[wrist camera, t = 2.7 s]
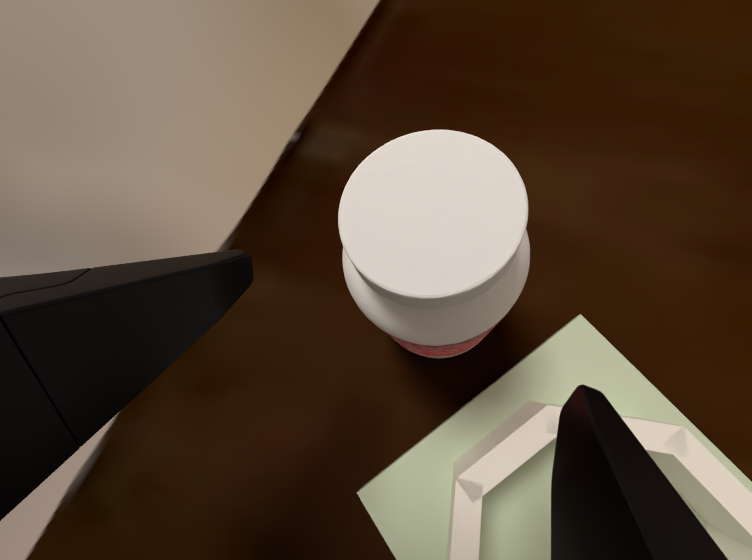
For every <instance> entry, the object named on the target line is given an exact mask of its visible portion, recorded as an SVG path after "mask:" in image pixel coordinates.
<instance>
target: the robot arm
mask: <svg viewBox="0 0 752 560" xmlns="http://www.w3.org/2000/svg"><path fill="white" fill-rule="evenodd" d="M252 281H253V266H252V257H251V255H250V254H248V253H246V252H243V251H241V250H229V251H221V252H213V253H206V254H198V255H190V256H182V257H174V258H166V259H158V260H150V261H142V262H135V263H126V264H119V265H110V266H102V267H94V268H92V269H91V268H87V269H78V270H70V271H61V272H52V273H43V274H33V275H22V276H11V277H0V521H1V519H3V518H4V517H5V516H6V515H7V514H8V513H9V512H10V511H11V510H13V509H14V508H15V507H16V506H17V505H18V504H19V503H20V502H21V501H22V500H23V499H25V498H26V497H27V496H28V495H29V494H30V493H31V492H32V491H33V490H34V489H36V488H37V487H38V486H39V485H40V484H41V483H42V482H43V481H44V480H45V479H46V478H48V476H50V475H51V474H52V473H53V472H54V471H55V470H56V469H57V468H59V466H61V465H62V464H63V463H64V462H65V461H66V460H67V459H68V458H69V457H70V456H72V455H73V454H74V453H75V452H76V451H77V450H78V449H79V448H80V446H82V445H83V444H84V443H85V442H86V441H88V440H89V439H90V438H91V437H92V436H93V435H94V434H95V433H96V432H98V431H99V430H100V429H101V428H102V427H103V426H104V425H105V424H106V423H107V422H108V421H110V420H111V419H112V418H113V417H114V416H115V415H116V414H117V413H118V412H119V411H121V410H122V409H123V408H124V407H125V406H126V405H127V404H128V403H129V402H130V401H131V400H133V399H134V398H135V397H136V396H137V395H138V394H139V393H140V392H141V391H142V390H144V389H145V388H146V387H147V386H148V385H149V384H150V383H151V382H152V381H153V380H154V379H156V378H157V377H158V376H159V375H160V374H161V373H162V372H163V371H164V370H165V369H166V368H168V367H169V366H170V365H171V364H172V363H173V362H174V361H175V360H176V359H177V358H179V357H180V356H181V355H182V354H183V353H184V352H185V351H186V350H187V349H188V348H189V347H191V346H192V345H193V344H194V343H195V342H196V341H197V340H198V339H199V338H200V337H202V336H203V335H204V334H205V333H206V332H207V331H208V330H209V329H210V328H211V327H212V326H213V325H215V324H216V323H217V322H218V321H219V320H220V319H221V317H222V316H223V315H224V314H225V313H226V312H227V311H228V310H229V309H230V308H231V306H232V305H233V304H234V303H235V302H236V301H237V300H238V299H239V298H240V296H241V295H242V294H243V293H244V292H245V291H246V290H247V289H248V288H249V286H250V285H251V284H252ZM551 560H728V559H727V557H726V556H725V555H724V553H723V552H722V551H721V549H720V548H719V547H718V545H717V544H716V543H715V541H714V540H713V539H712V537H711V536H710V535H709V533H708V532H707V531H706V529H705V528H704V527H703V525H702V524H701V523H700V521H699V520H698V519H697V517H696V516H695V515H694V513H693V512H692V511H691V509H690V508H689V507H688V505H687V504H686V503H685V501H684V500H683V499H682V497H681V496H680V495H679V493H678V492H677V491H676V489H675V488H674V487H673V486H672V484H671V483H670V482H669V480H668V479H667V478H666V476H665V475H664V474H663V472H662V471H661V470H660V468H659V467H658V466H657V464H656V463H655V462H654V460H653V459H652V458H651V456H650V455H649V454H648V452H647V451H646V450H645V448H644V447H643V446H642V444H641V443H640V442H639V440H638V439H637V438H636V436H635V435H634V434H633V432H632V431H631V430H630V428H629V427H628V426H627V424H626V423H625V422H624V420H623V419H622V418H621V416H620V415H619V414H618V413H617V411H616V410H615V409H614V407H613V406H612V405H611V403H610V402H609V401H608V399H607V398H606V397H605V395H604V394H603V393H602V392H601V391H599V390H597V389H594V388H592V387H589V386H586V385H583V384H582V385H579V386H577V387H576V389H575V390H574V392H573V393H572V394H571V396H570V397H569V399H568V400H567V401H566V403H565V404H564V406H563V407H562V409H561V412H560V416H559V423H558V431H557V438H556V446H555V454H554V461H553V469H552V478H551Z"/></svg>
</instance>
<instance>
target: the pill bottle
mask: <svg viewBox="0 0 752 560" xmlns="http://www.w3.org/2000/svg"><path fill="white" fill-rule="evenodd" d="M527 221H528V198H527V194H526V189H525V186H524V183H523V181H522V179H521V177H520V175H519V173H518V171H517V169H516V168H515V166H514V165H513V164H512V162H511V161H510V160H509V159H508V158H507V157H506V156H505V155H504V154H503V153H502V152H501V151H500V150H498V149H497V148H496V147H495V146H493V145H492V144H490V143H488V142H486V141H485V140H482V139H480V138H478V137H476V136H473V135H470V134H466V133H463V132H457V131H451V130H428V131H421V132H415V133H411V134H408V135H404V136H401V137H399V138H397V139H394V140H392V141H390V142H388V143H386V144H385V145H383V146H381V147H380V148H378V149H377V150H375V151H374V152H373V153H371V154H370V155H369V156H368V157H367V158H366V159H365V160H364V161H363V162H362V163H361V164H360V165H359V166H358V167H357V169H356V170H355V171H354V173H353V174H352V175H351V177H350V179H349V181H348V183H347V184H346V186H345V188H344V191H343V194H342V197H341V201H340V206H339V213H338V225H339V232H340V237H341V241H342V244H343V258H342V260H343V270H344V275H345V280H346V283H347V286H348V289H349V291H350V293H351V295H352V297H353V299H354V300H355V302H356V303H357V305H358V307H359V308H360V309H361V311H362V312H363V313H364V315H365V316H366V317H367V318H368V319H369V320H371V321H372V322H373V323H374V324H375V325H377V326H378V327H379V328H380V329H382V330H383V331H384V332H386V333H387V334H388V335H390V336H391V337H392V338H393V339H394V340H395V341H397V342H398V343H399V344H400V345H401V346H403V347H404V348H405V349H407V350H409V351H411V352H413V353H415V354H418V355H421V356H425V357H430V358H448V357H453V356H456V355H460V354H462V353H464V352H466V351H468V350H470V349H471V348H473V347H474V346H476V345H477V344H478V343H479V342H480V341H481V340H482V339H483V338H484V337H485V336H486V335H487V334H488V333H489V332H490V331H491V330H492V329H493V328H494V327H495V326H496V325H497V324H498V323H499V321H501V320H502V318H503V317H504V316H505V315H506V314H507V313H508V312H509V310H510V309H511V307H512V306H513V305H514V303H515V302H516V300H517V299H518V297H519V295H520V293H521V291H522V289H523V287H524V284H525V282H526V278H527V274H528V270H529V263H530V246H529V239H528V235H527V231H526V226H527Z"/></svg>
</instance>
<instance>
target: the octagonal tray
mask: <svg viewBox="0 0 752 560" xmlns="http://www.w3.org/2000/svg"><path fill="white" fill-rule="evenodd" d="M582 384H583V385H586V386H589V387H592V388H594V389H597V390H599V391H601V392H602V393H603V394H604V395H605V397H606V398H607V399H608V401H609V402H610V403H611V405H612V406H613V407H614V409H615V410H616V411H617V413H618V414H619V415H620V416H621V418H622V419H623V420H624V422H625V423H626V424H627V426H628V427H629V428H630V430H631V431H632V432H633V434H634V435H635V436H636V438H637V439H638V440H639V442H640V443H641V444H642V446H643V447H644V448H645V450H646V451H647V452H648V454H649V455H650V456H651V458H652V459H653V460H654V462H655V463H656V464H657V466H658V467H659V468H660V470H661V471H662V472H663V474H664V475H665V476H666V478H667V479H668V480H669V482H670V483H671V484H672V486H673V487H674V488H675V489H676V491H677V492H678V493H679V495H680V496H681V497H682V499H683V500H684V501H685V503H686V504H687V505H688V507H689V508H690V509H691V511H692V512H693V513H694V515H695V516H696V517H697V519H698V520H699V521H700V523H701V524H702V525H703V527H704V528H705V529H706V531H707V532H708V533H709V535H710V536H711V537H712V539H713V540H714V541H715V543H716V544H717V545H718V547H719V548H720V549H721V551H722V552H723V553H724V555H725V556H726V557H727V559H728V560H752V482H751V481H750V480H749V479H748V478H747V477H746V476H745V475H744V474H743V473H742V472H741V471H740V470H739V469H738V468H737V467H736V466H735V465H734V464H733V463H732V462H731V461H730V460H729V459H728V458H727V457H726V456H725V455H724V454H723V453H722V452H721V451H720V450H719V449H718V448H716V447H715V446H714V445H713V444H712V443H711V442H710V441H709V440H708V439H707V438H706V437H705V436H704V435H703V434H702V433H701V432H700V431H699V430H698V429H697V428H696V427H695V426H694V425H693V424H692V423H691V422H690V421H689V420H688V419H687V418H686V417H685V416H684V415H683V414H682V413H681V412H680V411H679V410H678V409H677V408H676V407H675V406H674V405H673V404H672V403H671V402H670V401H668V400H667V399H666V398H665V397H664V396H663V395H662V394H661V393H660V392H659V391H658V390H657V389H656V388H655V387H654V386H653V385H652V384H651V383H650V382H649V381H648V380H647V379H646V378H645V377H644V376H643V375H642V374H641V373H640V372H639V371H638V370H637V369H636V368H635V367H634V366H633V365H632V364H631V363H630V362H629V361H628V360H627V359H626V358H625V357H624V356H623V355H622V354H621V353H619V352H618V351H617V350H616V349H615V348H614V347H613V346H612V345H611V344H610V343H609V342H608V341H607V340H606V339H605V338H604V337H603V336H602V335H601V334H600V333H599V332H598V331H597V330H596V329H595V328H594V327H593V326H592V325H591V324H590V323H589V322H588V321H587V320H586V319H585V318H584V317H583V316H582V315H578V316H576V317H575V318H574V319H572V320H571V321H570V322H569V323H567V324H566V325H565V326H564V327H562V328H561V329H560V330H559V331H557V332H556V333H555V334H554V335H552V336H551V337H550V338H548V339H547V340H546V341H545V342H543V343H542V344H541V345H540V346H538V347H537V348H536V349H535V350H533V351H532V352H531V353H530V354H528V355H527V356H526V357H525V358H523V359H522V360H521V361H520V362H518V363H517V364H516V365H515V366H513V367H512V368H511V369H510V370H508V371H507V372H506V373H505V374H503V375H502V376H501V377H500V378H498V379H497V380H496V381H495V382H493V383H492V384H491V385H490V386H488V387H487V388H486V389H484V390H483V391H482V392H481V393H479V394H478V395H477V396H476V397H474V398H473V399H472V400H471V401H469V402H468V403H467V404H466V405H464V406H463V407H462V408H461V409H459V410H458V411H457V412H456V413H454V414H453V415H452V416H451V417H449V418H448V419H447V420H446V421H444V422H443V423H442V424H441V425H439V426H438V427H437V428H436V429H434V430H433V431H432V432H431V433H429V434H428V435H427V436H426V437H424V438H423V439H422V440H421V441H419V442H418V443H417V444H415V445H414V446H413V447H412V448H410V449H409V450H408V451H407V452H405V453H404V454H403V455H402V456H400V457H399V458H398V459H397V460H395V461H394V462H393V463H392V464H390V465H389V466H388V467H387V468H385V469H384V470H383V471H382V472H380V473H379V474H378V475H377V476H375V477H374V478H373V479H372V480H370V481H369V482H368V483H367V484H365V485H364V486H363V487H362V488H360V489H359V491H358V492H357V494H358V496H359V498H360V499H361V501H362V503H363V504H364V506H365V508H366V509H367V511H368V513H369V514H370V516H371V518H372V519H373V521H374V523H375V525H376V526H377V528H378V530H379V531H380V533H381V535H382V536H383V538H384V540H385V541H386V543H387V545H388V546H389V548H390V550H391V551H392V553H393V555H394V556H395V558H396V560H551V478H552V469H553V461H554V454H555V446H556V438H557V431H558V423H559V416H560V412H561V409H562V407H563V406H564V404H565V403H566V401H567V400H568V399H569V397H570V396H571V394H572V393H573V392H574V390H575V389H576V387H577V386H579V385H582Z"/></svg>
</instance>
